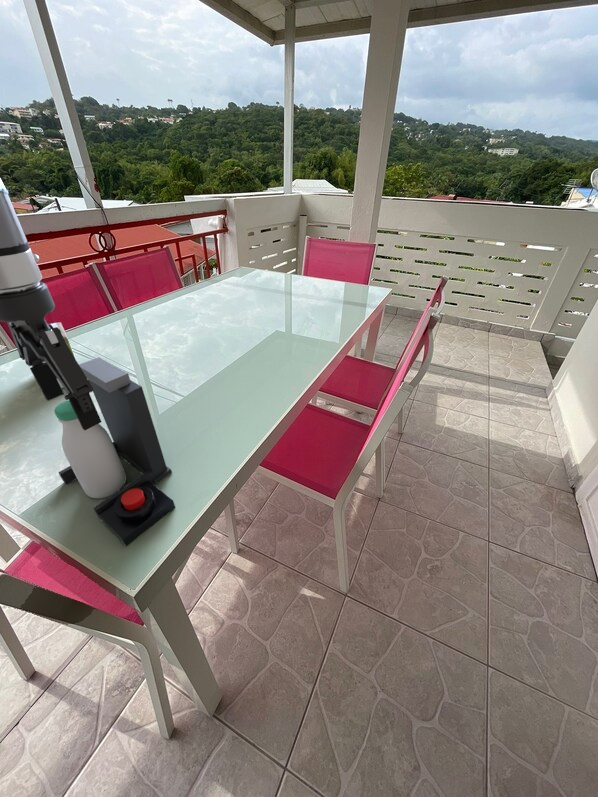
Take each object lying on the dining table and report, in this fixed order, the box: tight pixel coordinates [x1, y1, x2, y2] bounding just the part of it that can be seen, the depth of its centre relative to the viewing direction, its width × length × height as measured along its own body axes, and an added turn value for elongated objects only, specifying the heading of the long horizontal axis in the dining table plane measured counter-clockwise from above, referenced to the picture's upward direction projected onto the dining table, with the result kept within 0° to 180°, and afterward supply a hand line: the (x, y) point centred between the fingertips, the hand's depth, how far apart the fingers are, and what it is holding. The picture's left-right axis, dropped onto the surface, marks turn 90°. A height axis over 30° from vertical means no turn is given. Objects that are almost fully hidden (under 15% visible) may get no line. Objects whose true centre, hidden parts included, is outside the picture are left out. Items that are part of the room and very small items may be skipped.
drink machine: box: [58, 356, 173, 521], centre depth 62 cm, size 15×16×24 cm
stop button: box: [121, 488, 145, 511], centre depth 59 cm, size 4×4×2 cm
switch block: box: [99, 481, 176, 547], centre depth 61 cm, size 10×8×4 cm
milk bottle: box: [54, 399, 127, 499], centre depth 62 cm, size 8×8×20 cm
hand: (72, 410), depth 57 cm, fingers open, 13 cm apart
